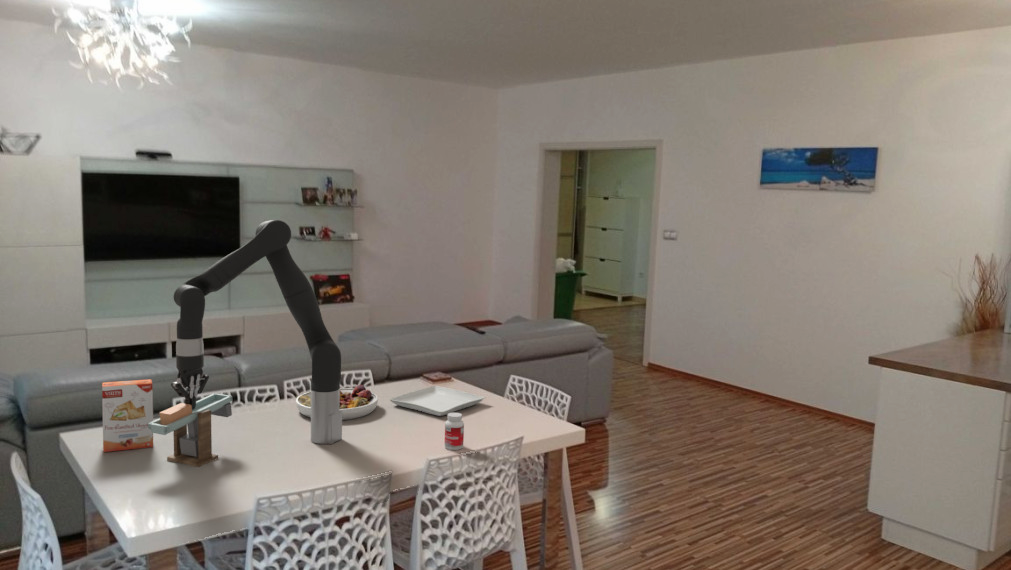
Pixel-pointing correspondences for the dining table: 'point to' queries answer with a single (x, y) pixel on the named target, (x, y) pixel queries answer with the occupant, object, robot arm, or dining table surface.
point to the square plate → (437, 400)
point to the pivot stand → (203, 443)
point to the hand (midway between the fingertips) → (190, 409)
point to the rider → (175, 413)
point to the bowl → (345, 402)
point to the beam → (194, 421)
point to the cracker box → (127, 414)
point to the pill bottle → (454, 431)
